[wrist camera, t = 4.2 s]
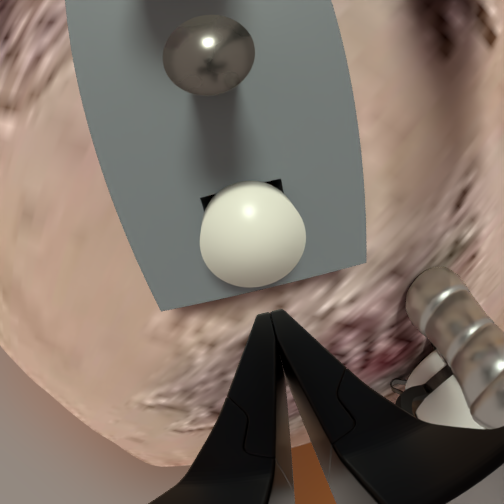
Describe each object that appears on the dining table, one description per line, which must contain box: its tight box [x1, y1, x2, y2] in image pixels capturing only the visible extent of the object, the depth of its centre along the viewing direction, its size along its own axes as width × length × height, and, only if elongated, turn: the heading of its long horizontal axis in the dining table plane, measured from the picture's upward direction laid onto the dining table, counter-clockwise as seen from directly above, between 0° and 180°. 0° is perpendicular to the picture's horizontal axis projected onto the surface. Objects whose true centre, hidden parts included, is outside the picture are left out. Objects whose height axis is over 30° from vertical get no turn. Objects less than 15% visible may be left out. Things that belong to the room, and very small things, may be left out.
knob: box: [200, 181, 306, 288], centre depth 16 cm, size 5×5×6 cm
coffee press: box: [391, 343, 487, 429], centre depth 19 cm, size 17×16×30 cm
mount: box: [65, 0, 366, 311], centre depth 14 cm, size 14×26×4 cm, turn 12°
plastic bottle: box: [406, 267, 504, 429], centre depth 17 cm, size 6×7×20 cm
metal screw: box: [163, 15, 255, 96], centre depth 10 cm, size 3×3×5 cm
